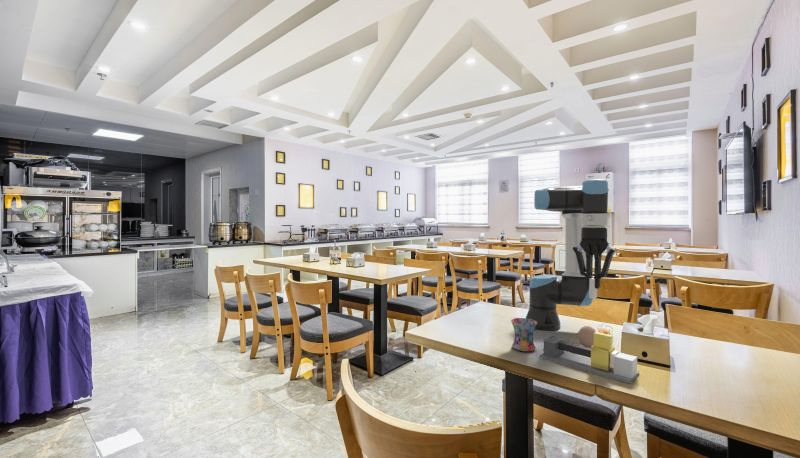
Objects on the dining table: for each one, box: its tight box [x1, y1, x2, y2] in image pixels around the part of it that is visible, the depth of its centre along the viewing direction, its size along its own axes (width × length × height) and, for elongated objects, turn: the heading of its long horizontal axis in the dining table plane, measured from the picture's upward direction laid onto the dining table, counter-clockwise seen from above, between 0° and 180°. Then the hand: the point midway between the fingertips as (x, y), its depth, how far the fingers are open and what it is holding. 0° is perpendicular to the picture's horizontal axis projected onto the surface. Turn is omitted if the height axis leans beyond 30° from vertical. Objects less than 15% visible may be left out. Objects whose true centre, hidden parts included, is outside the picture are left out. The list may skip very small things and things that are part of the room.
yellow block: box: [590, 331, 616, 371], centre depth 117 cm, size 6×5×10 cm
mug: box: [510, 317, 537, 352], centre depth 136 cm, size 12×9×11 cm
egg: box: [577, 325, 597, 348], centre depth 137 cm, size 7×7×8 cm
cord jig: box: [538, 335, 640, 384], centre depth 120 cm, size 10×28×7 cm, turn 43°
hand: (593, 297), depth 119 cm, fingers closed
